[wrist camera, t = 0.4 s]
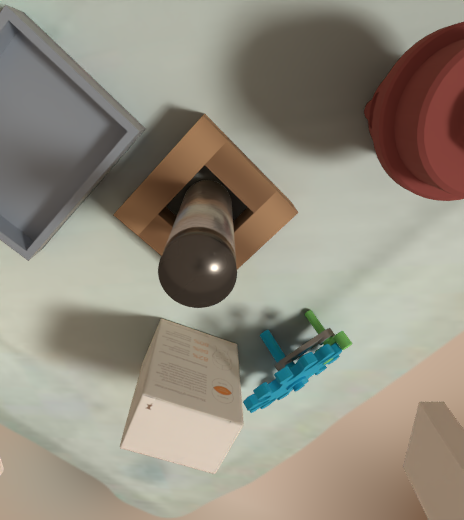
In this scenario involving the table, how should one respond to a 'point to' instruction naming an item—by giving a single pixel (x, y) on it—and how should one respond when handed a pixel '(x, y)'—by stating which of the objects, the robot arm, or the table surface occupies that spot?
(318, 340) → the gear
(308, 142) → the table surface
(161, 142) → the table surface
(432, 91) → the mechanical component
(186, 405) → the small box
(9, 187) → the tray
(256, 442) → the table surface
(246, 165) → the socket
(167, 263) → the pin
